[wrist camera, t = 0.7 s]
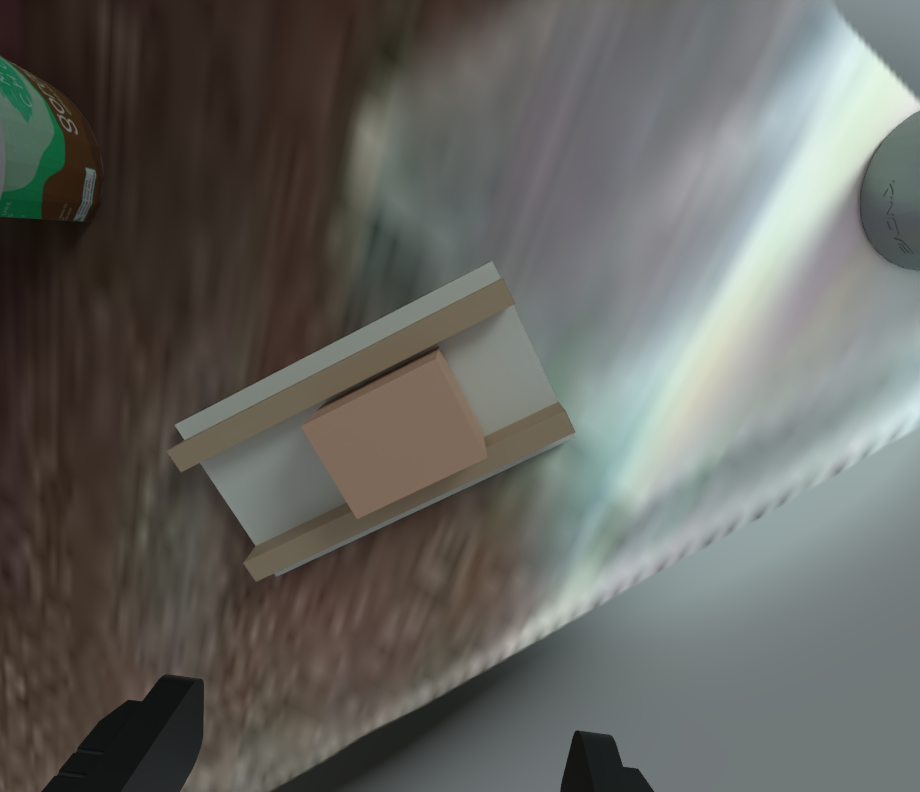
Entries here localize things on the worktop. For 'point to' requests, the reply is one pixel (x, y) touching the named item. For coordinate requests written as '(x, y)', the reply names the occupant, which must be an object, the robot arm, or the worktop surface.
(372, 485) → the block
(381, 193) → the worktop surface
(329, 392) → the chute
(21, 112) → the food container
